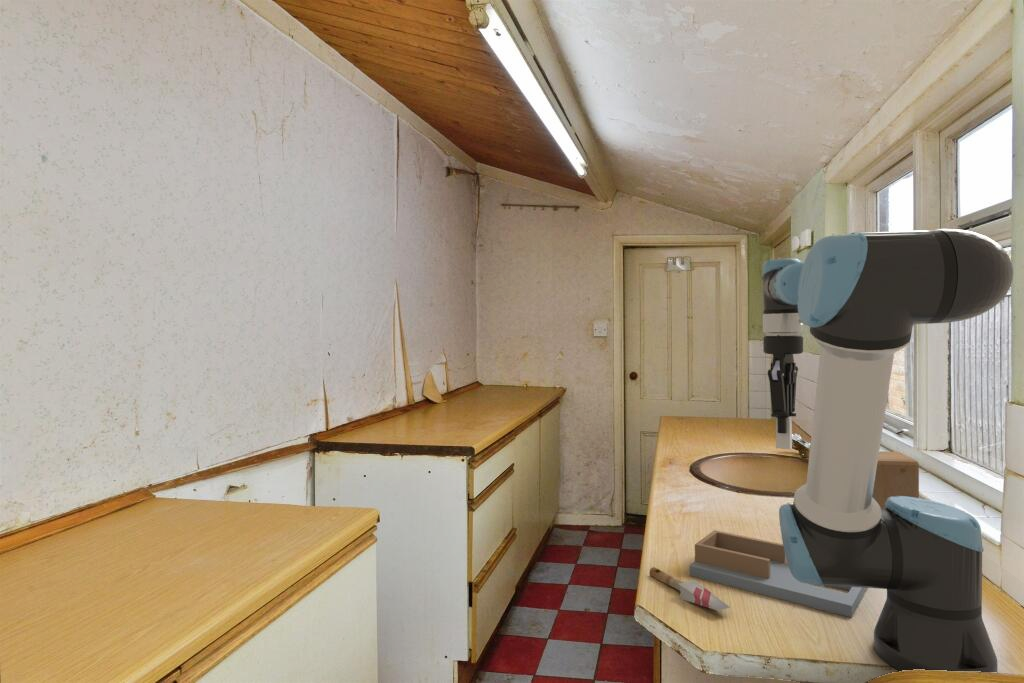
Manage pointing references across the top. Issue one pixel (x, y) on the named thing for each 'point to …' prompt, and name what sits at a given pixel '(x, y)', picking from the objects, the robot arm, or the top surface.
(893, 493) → the wooden block
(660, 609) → the top surface
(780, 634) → the top surface
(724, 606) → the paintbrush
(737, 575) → the slate deck with cubby
